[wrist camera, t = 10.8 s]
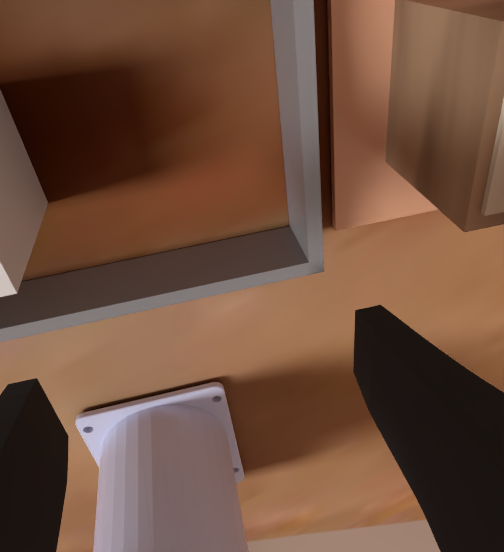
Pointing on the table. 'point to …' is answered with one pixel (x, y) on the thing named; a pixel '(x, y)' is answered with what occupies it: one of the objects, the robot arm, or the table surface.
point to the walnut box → (450, 106)
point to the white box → (16, 204)
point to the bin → (216, 255)
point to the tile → (363, 117)
